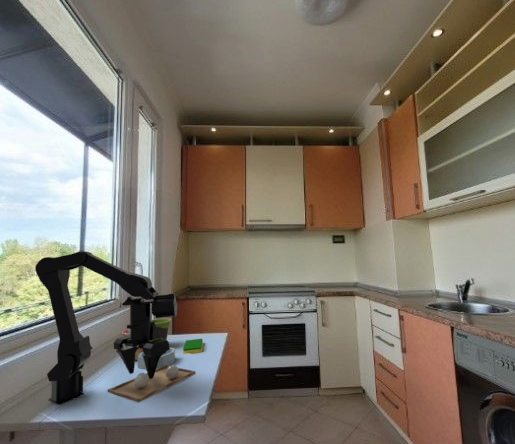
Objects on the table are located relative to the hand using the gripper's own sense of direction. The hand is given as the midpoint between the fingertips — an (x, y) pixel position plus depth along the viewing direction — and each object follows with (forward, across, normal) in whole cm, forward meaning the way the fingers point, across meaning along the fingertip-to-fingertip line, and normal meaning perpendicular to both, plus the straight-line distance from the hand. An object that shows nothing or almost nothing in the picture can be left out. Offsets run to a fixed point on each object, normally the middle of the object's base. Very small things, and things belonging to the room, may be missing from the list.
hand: (141, 375), depth 82 cm
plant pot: (+4, +31, -29) cm, 43 cm away
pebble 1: (+3, 0, 0) cm, 3 cm away
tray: (+4, 0, -4) cm, 5 cm away
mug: (+4, +28, -17) cm, 33 cm away
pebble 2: (+3, -4, -8) cm, 9 cm away
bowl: (+4, +13, -16) cm, 21 cm away
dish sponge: (+4, +15, -34) cm, 38 cm away
